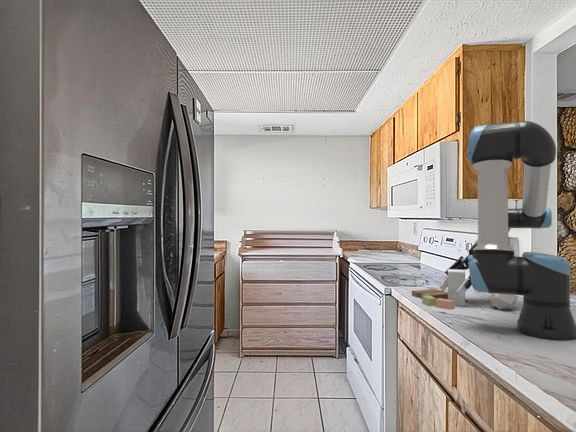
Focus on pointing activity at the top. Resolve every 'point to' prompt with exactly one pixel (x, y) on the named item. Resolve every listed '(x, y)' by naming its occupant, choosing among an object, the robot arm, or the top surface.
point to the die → (503, 301)
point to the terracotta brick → (445, 303)
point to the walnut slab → (431, 293)
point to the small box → (456, 286)
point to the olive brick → (429, 300)
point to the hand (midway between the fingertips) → (450, 291)
